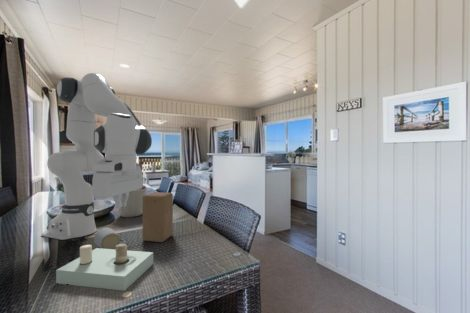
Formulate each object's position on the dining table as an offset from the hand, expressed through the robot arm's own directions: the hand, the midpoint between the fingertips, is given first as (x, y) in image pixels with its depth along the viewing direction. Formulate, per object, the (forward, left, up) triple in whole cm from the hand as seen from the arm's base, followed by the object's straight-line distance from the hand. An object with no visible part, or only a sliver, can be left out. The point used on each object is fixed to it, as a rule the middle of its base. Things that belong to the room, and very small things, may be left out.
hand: (121, 207), depth 75 cm
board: (-4, -1, -21) cm, 21 cm away
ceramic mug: (-17, +17, -21) cm, 32 cm away
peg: (+1, -1, -21) cm, 21 cm away
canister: (-37, +63, -21) cm, 76 cm away
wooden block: (-3, +30, -21) cm, 37 cm away
